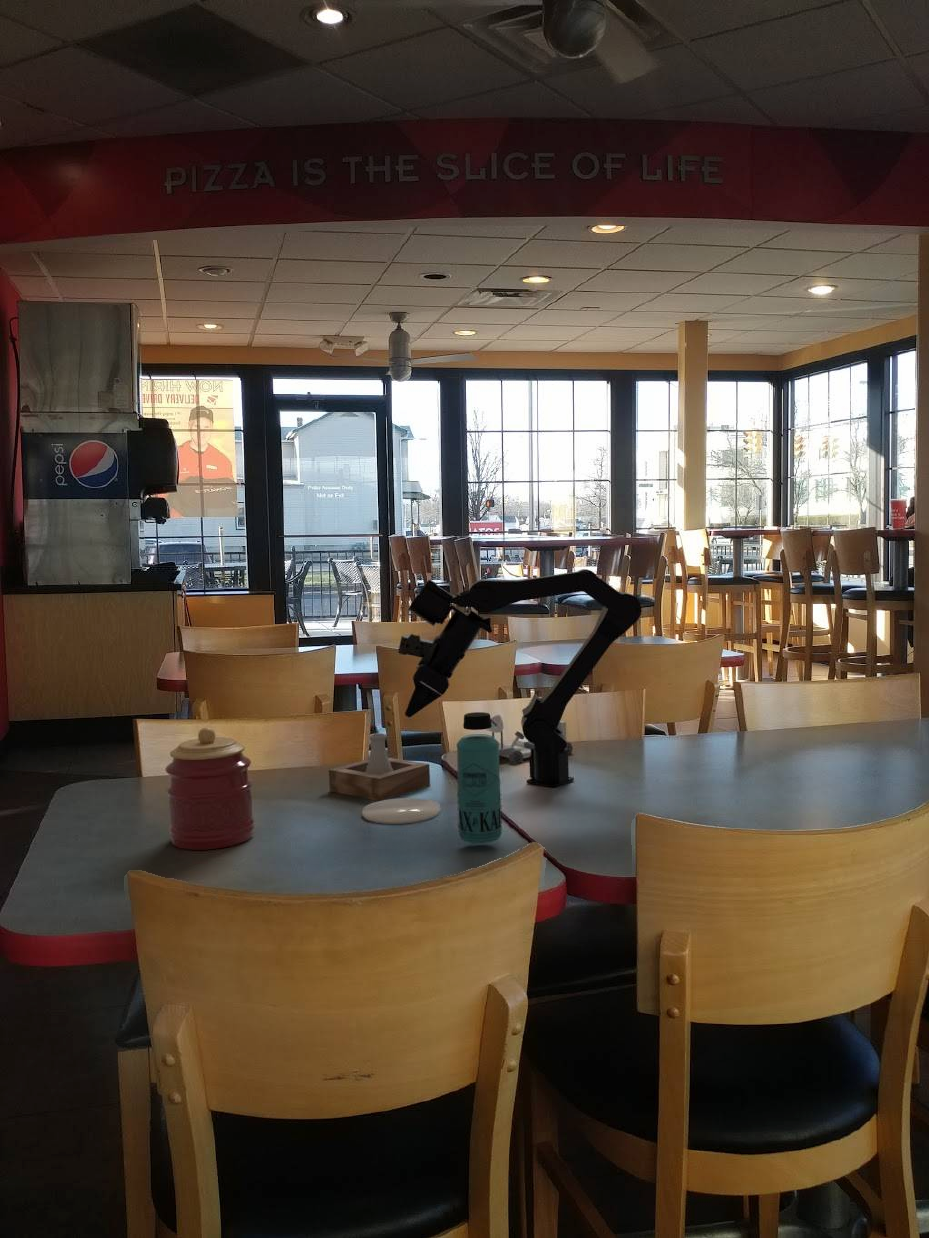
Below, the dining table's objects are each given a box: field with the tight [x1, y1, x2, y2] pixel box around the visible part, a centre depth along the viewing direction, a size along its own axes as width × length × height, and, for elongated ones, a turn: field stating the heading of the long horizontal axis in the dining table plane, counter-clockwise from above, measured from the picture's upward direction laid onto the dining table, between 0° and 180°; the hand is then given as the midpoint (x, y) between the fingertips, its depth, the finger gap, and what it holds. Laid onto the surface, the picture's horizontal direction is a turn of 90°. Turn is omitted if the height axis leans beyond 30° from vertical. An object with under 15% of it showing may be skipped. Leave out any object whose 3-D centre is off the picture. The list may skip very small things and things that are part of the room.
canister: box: [165, 727, 255, 851], centre depth 162 cm, size 13×13×18 cm
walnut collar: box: [328, 757, 431, 802], centre depth 190 cm, size 13×13×4 cm
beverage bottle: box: [456, 711, 503, 844], centre depth 152 cm, size 6×7×20 cm
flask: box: [365, 732, 393, 775], centre depth 190 cm, size 7×7×10 cm
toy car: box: [485, 714, 573, 765], centre depth 214 cm, size 18×10×12 cm
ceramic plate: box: [361, 797, 441, 825], centre depth 173 cm, size 13×13×1 cm
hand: (408, 711), depth 189 cm, fingers open, 9 cm apart
